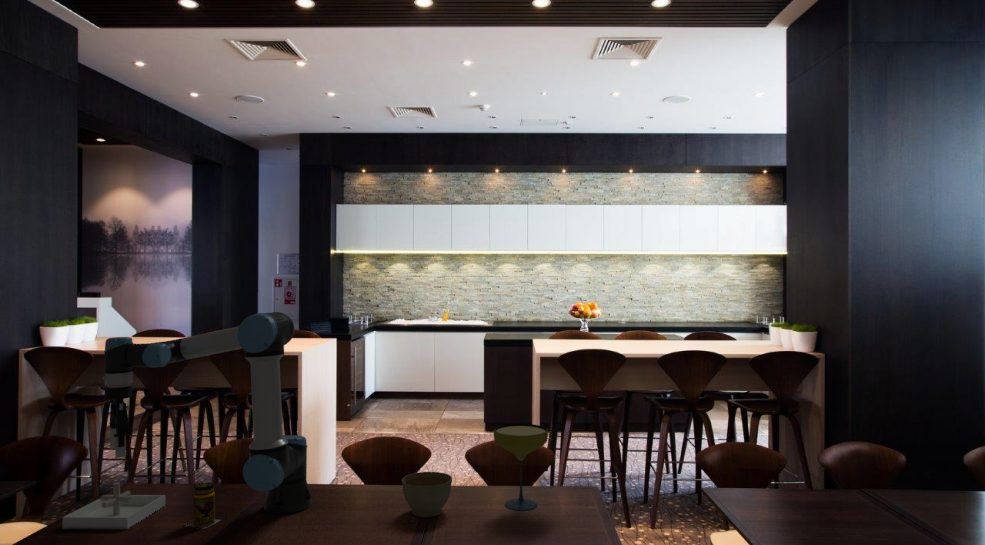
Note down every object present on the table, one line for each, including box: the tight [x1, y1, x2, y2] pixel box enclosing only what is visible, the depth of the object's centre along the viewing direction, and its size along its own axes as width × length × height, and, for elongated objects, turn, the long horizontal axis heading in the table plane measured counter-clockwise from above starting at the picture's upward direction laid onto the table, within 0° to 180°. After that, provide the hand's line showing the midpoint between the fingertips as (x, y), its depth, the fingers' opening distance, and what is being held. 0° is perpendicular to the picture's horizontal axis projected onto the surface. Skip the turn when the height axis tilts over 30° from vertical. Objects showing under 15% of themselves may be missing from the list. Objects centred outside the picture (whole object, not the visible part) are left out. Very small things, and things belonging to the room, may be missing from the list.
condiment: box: [185, 482, 222, 530], centre depth 186 cm, size 7×8×12 cm
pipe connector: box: [99, 481, 133, 516], centre depth 192 cm, size 10×10×10 cm
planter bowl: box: [401, 471, 453, 518], centre depth 195 cm, size 16×16×11 cm
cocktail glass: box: [493, 423, 549, 512], centre depth 201 cm, size 18×18×25 cm
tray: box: [61, 494, 166, 530], centre depth 192 cm, size 20×20×4 cm
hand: (117, 452), depth 192 cm, fingers open, 13 cm apart
